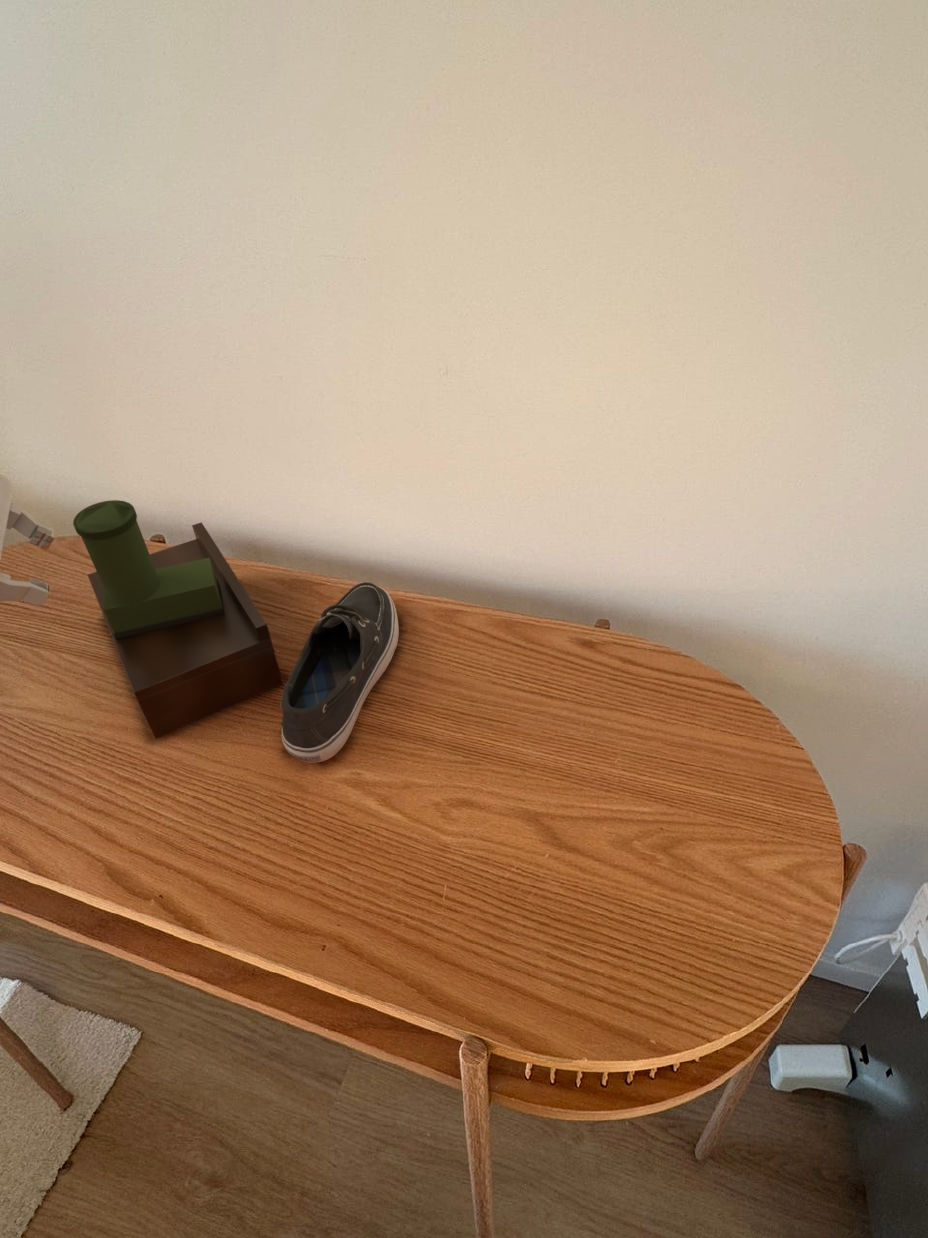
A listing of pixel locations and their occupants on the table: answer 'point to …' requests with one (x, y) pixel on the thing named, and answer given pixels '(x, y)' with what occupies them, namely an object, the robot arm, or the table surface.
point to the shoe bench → (198, 649)
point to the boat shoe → (337, 672)
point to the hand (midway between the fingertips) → (49, 566)
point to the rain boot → (143, 575)
